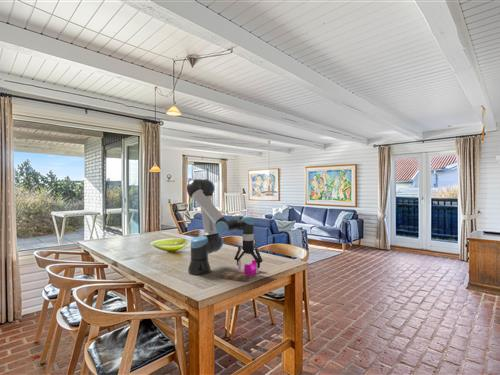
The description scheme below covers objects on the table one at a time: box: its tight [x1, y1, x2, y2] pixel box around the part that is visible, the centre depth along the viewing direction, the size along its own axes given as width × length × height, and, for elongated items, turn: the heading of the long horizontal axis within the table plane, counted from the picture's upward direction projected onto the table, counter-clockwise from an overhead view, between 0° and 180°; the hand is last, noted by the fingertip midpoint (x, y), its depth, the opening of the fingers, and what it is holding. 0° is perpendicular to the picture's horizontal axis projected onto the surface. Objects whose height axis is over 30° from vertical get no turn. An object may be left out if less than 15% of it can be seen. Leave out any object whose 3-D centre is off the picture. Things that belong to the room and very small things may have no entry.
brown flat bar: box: [219, 270, 250, 282], centre depth 176 cm, size 17×7×2 cm, turn 66°
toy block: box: [243, 259, 257, 278], centre depth 186 cm, size 15×6×8 cm, turn 155°
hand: (248, 271), depth 185 cm, fingers open, 13 cm apart
